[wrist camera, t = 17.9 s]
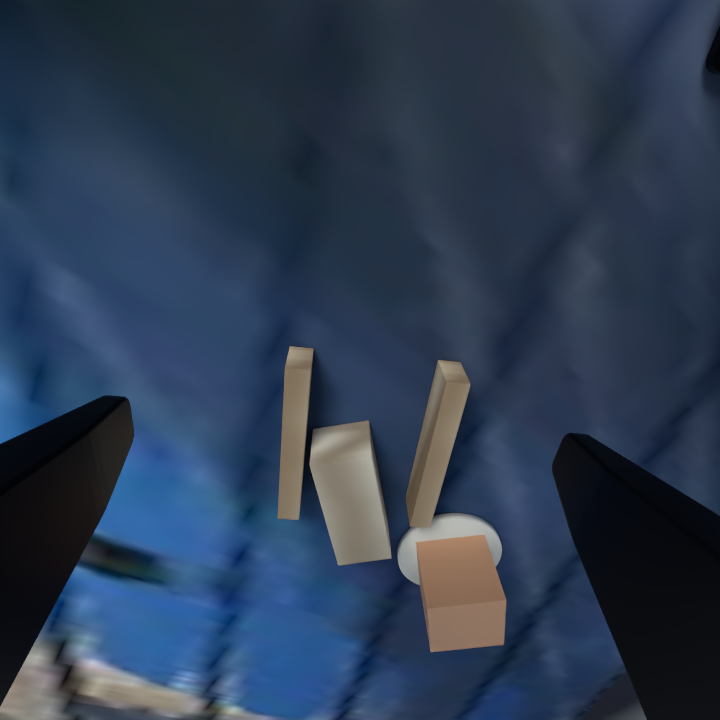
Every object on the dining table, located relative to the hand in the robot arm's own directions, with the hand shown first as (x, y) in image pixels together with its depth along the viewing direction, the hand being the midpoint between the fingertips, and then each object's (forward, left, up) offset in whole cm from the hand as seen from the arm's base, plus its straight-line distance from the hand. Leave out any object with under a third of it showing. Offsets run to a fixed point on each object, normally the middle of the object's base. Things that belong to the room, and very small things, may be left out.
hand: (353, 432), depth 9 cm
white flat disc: (-9, +19, -13) cm, 25 cm away
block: (-9, +20, -12) cm, 25 cm away
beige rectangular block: (-2, +13, -13) cm, 19 cm away
